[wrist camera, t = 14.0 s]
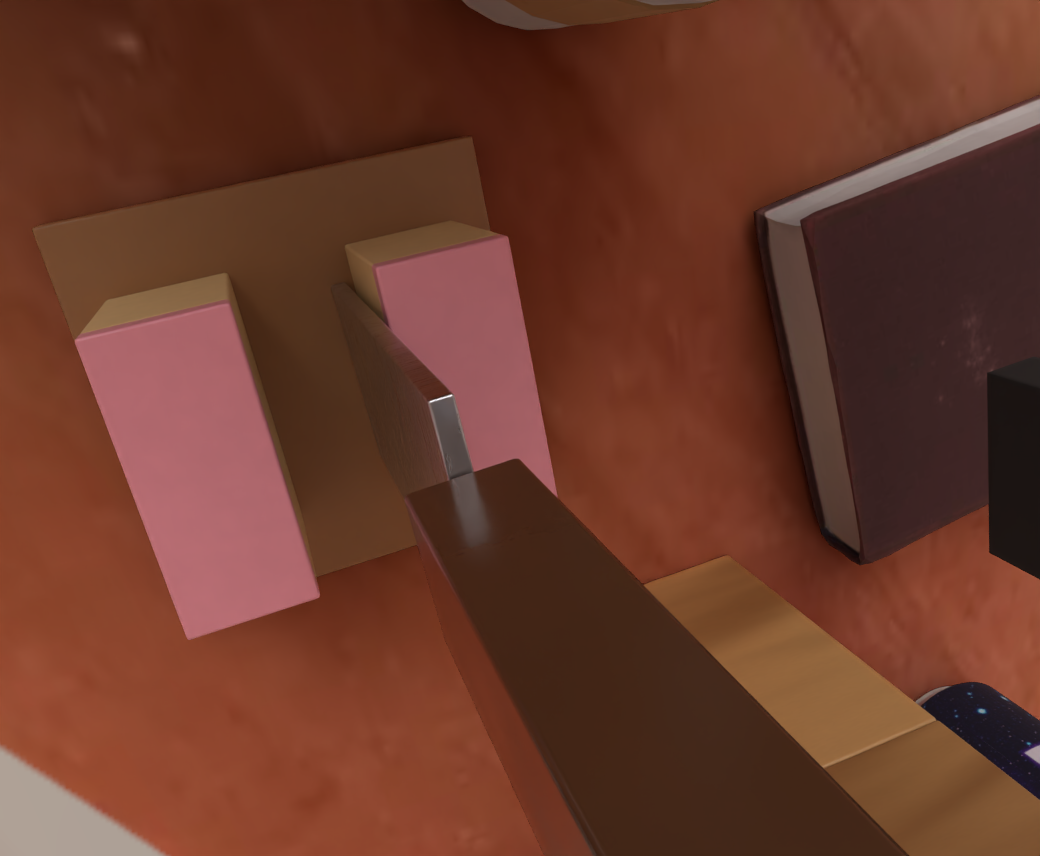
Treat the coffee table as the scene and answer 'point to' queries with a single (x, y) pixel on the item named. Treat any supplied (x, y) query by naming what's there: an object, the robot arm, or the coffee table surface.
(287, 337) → the board with pink blocks
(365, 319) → the knife
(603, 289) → the coffee table surface
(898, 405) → the book
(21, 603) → the coffee table surface
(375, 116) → the coffee table surface
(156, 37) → the coffee table surface
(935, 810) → the knife block
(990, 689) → the beverage can
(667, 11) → the coffee cup
